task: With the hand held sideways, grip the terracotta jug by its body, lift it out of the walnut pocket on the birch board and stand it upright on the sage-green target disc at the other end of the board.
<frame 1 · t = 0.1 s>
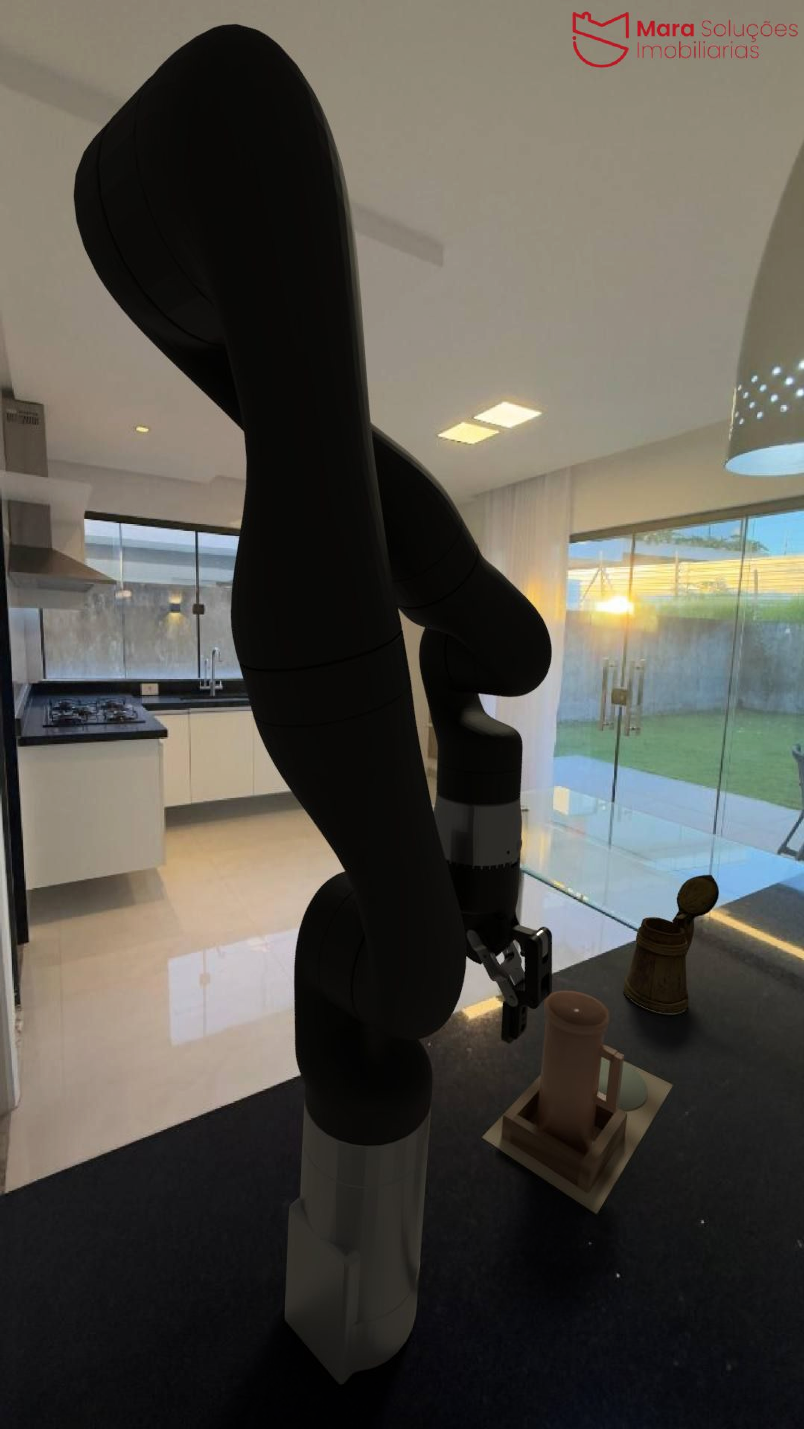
hand: (469, 1015, 55), 17 cm above the countertop, tool pointing down, fingers open, 8 cm apart
board: (583, 1117, 66), on the countertop
jug: (563, 1136, 62), point 1 cm above the countertop, touching board
wooden mug: (666, 995, 91), on the countertop
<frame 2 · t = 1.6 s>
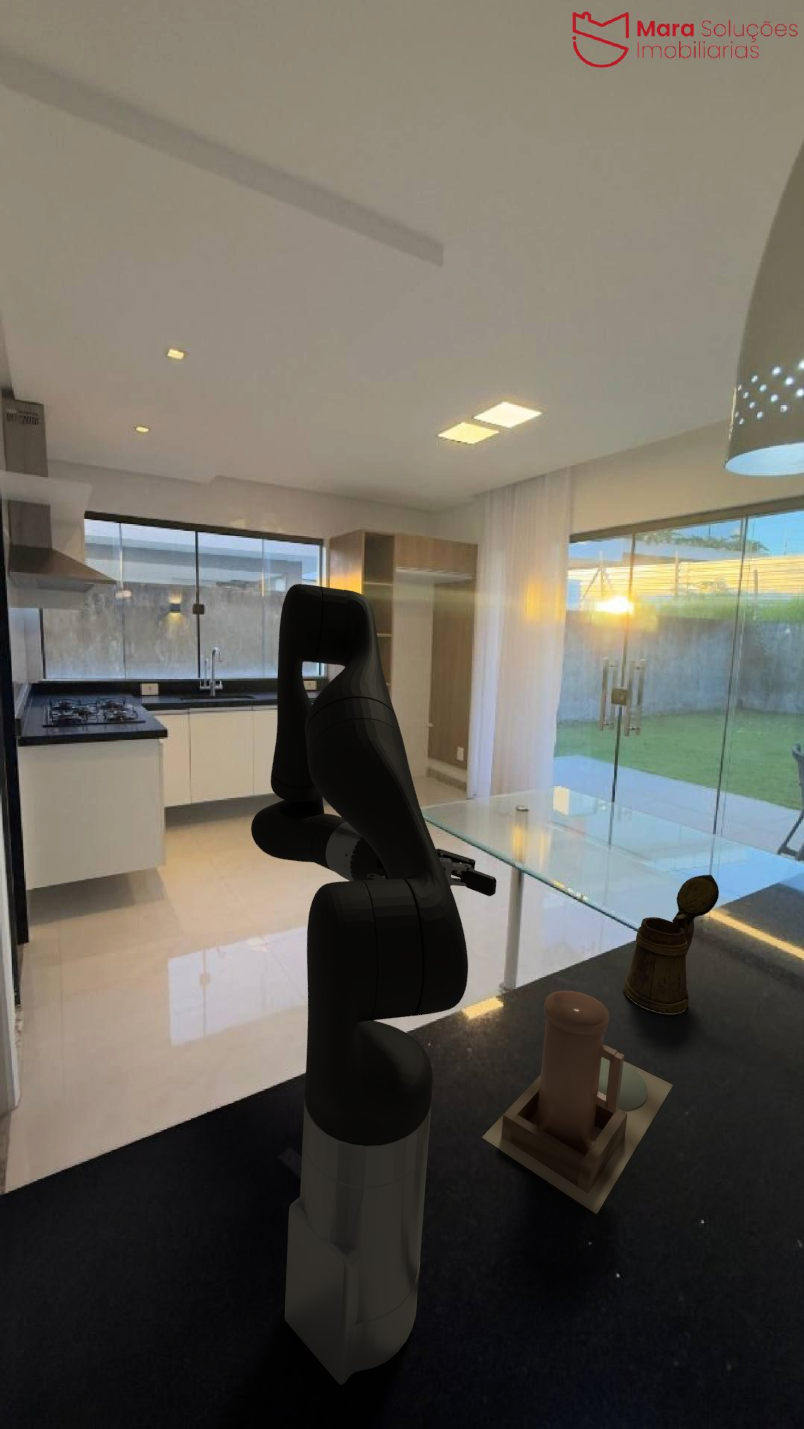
hand: (473, 898, 68), 22 cm above the countertop, tool horizontal, fingers open, 8 cm apart
nothing on the countertop moved.
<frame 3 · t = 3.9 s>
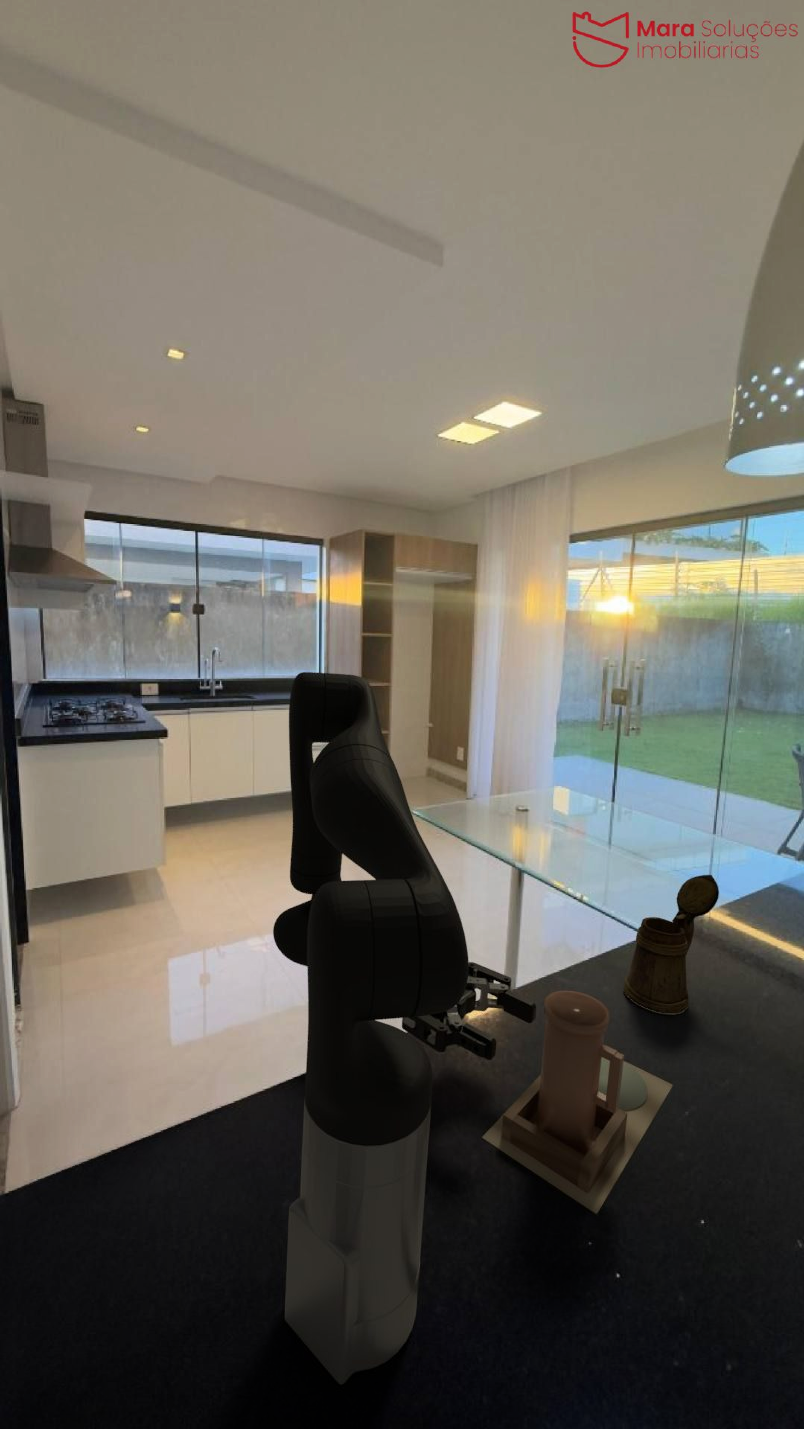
hand: (515, 1031, 65), 9 cm above the countertop, tool horizontal, fingers open, 8 cm apart
nothing on the countertop moved.
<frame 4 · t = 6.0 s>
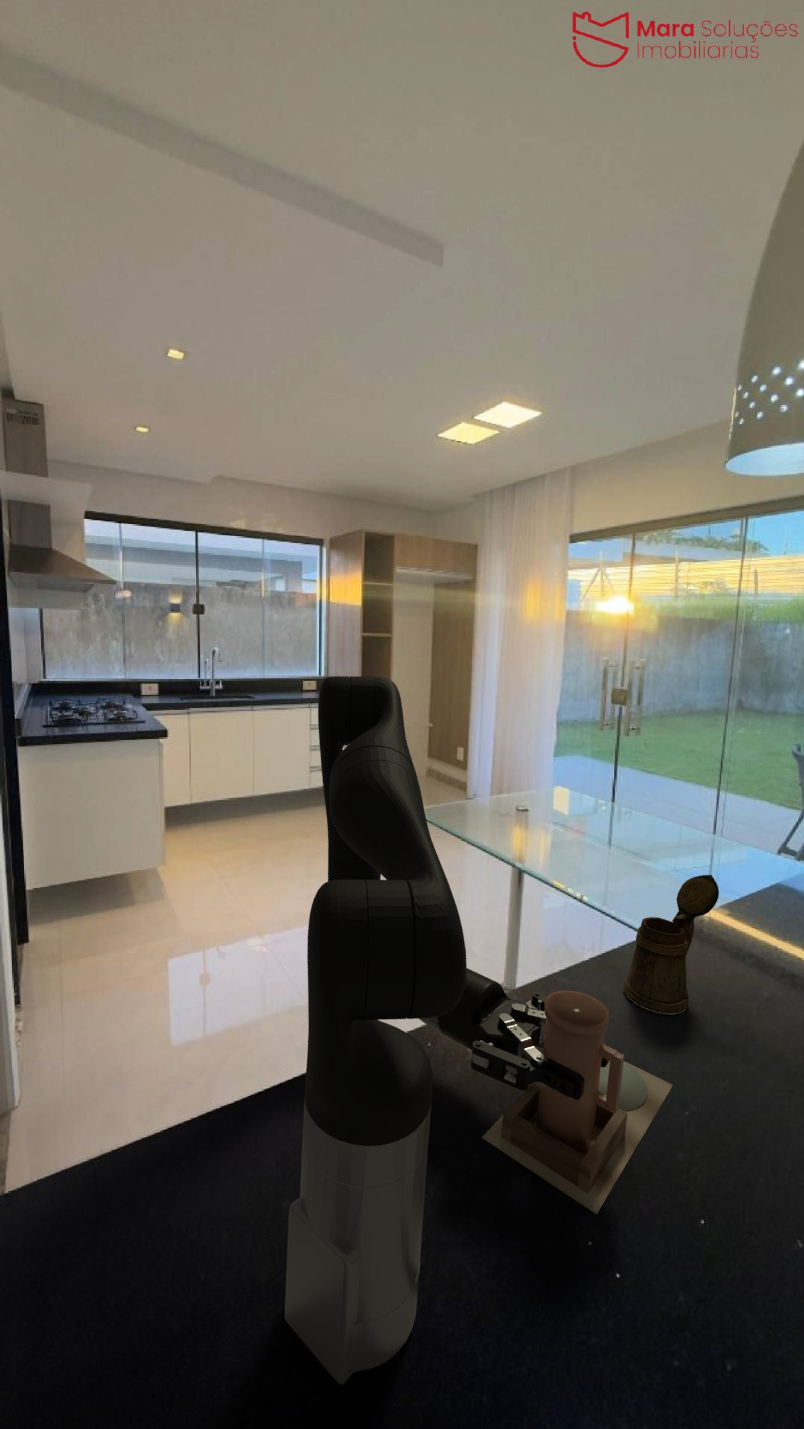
hand: (595, 1072, 60), 9 cm above the countertop, tool horizontal, fingers closed on jug, 5 cm apart
jug: (563, 1136, 62), point 1 cm above the countertop, touching board, gripper
everything else where it was.
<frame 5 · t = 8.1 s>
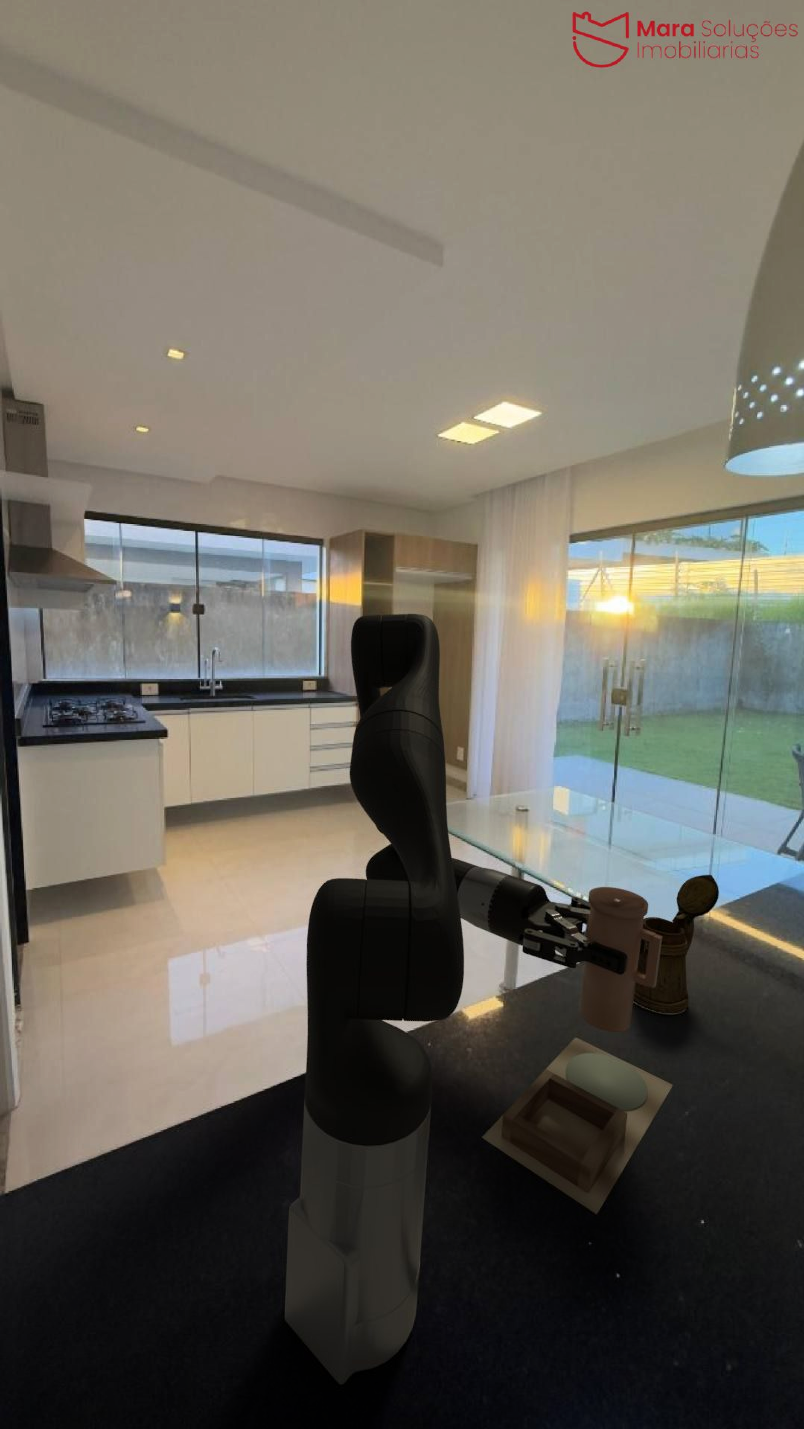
hand: (635, 954, 67), 18 cm above the countertop, tool horizontal, fingers closed on jug, 5 cm apart
jug: (604, 1015, 69), point 9 cm above the countertop, touching gripper
everything else where it was.
when the fingers open (11 cm above the countertop, at t = 10.1 s): jug stays where it is, resting on board.
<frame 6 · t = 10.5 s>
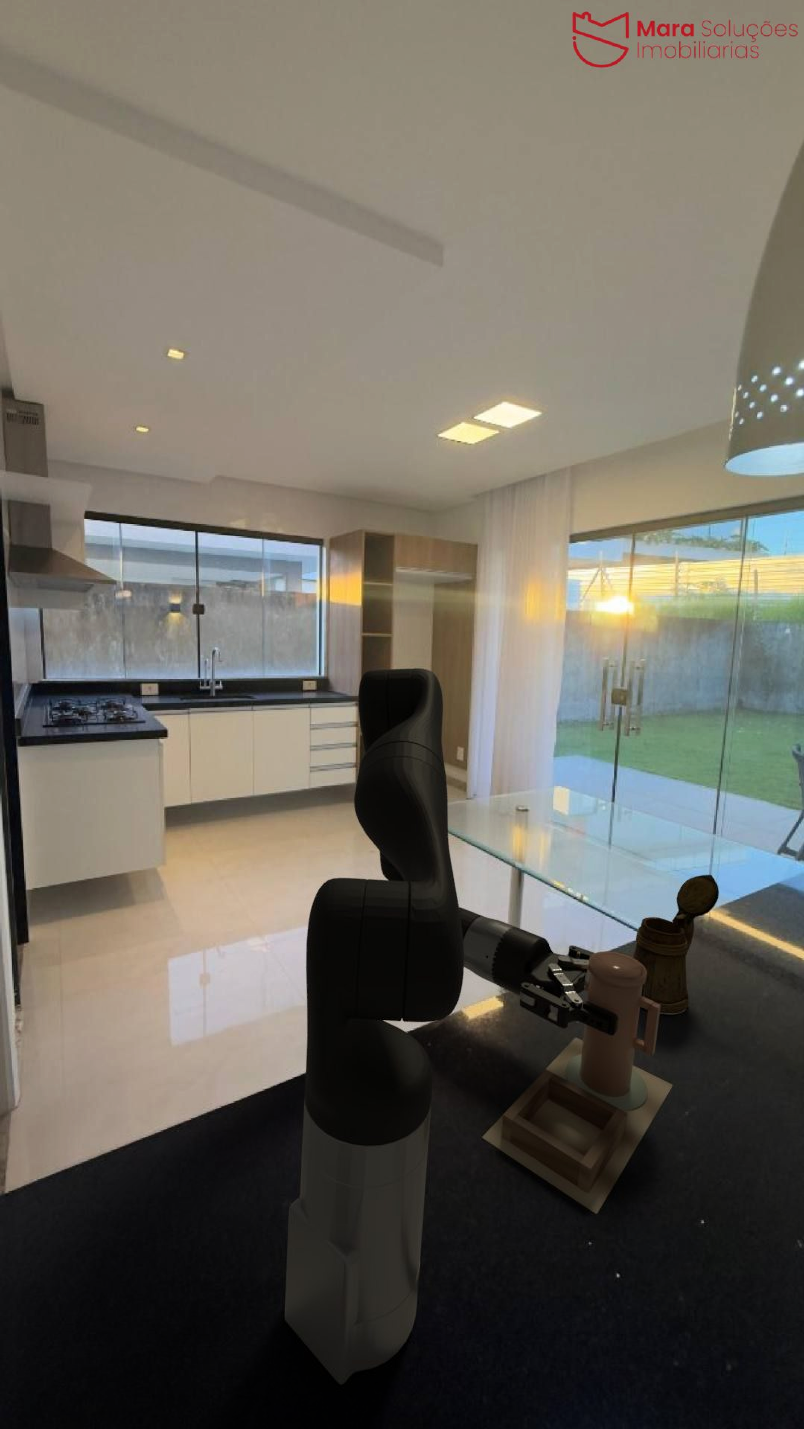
hand: (631, 1009, 68), 11 cm above the countertop, tool horizontal, fingers open, 8 cm apart
jug: (604, 1078, 71), point 1 cm above the countertop, touching board
everything else where it was.
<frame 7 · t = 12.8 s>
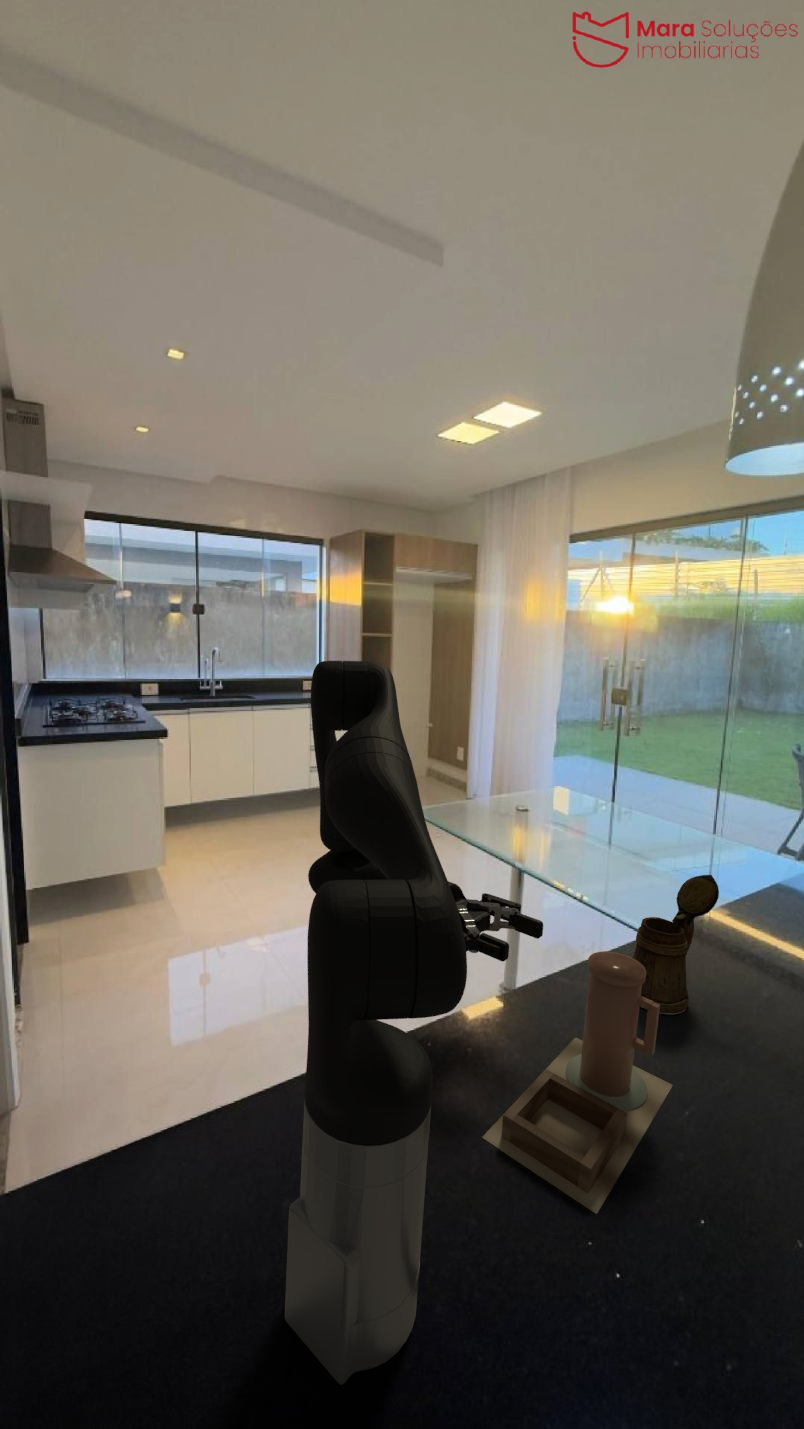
hand: (525, 941, 75), 14 cm above the countertop, tool horizontal, fingers open, 8 cm apart
nothing on the countertop moved.
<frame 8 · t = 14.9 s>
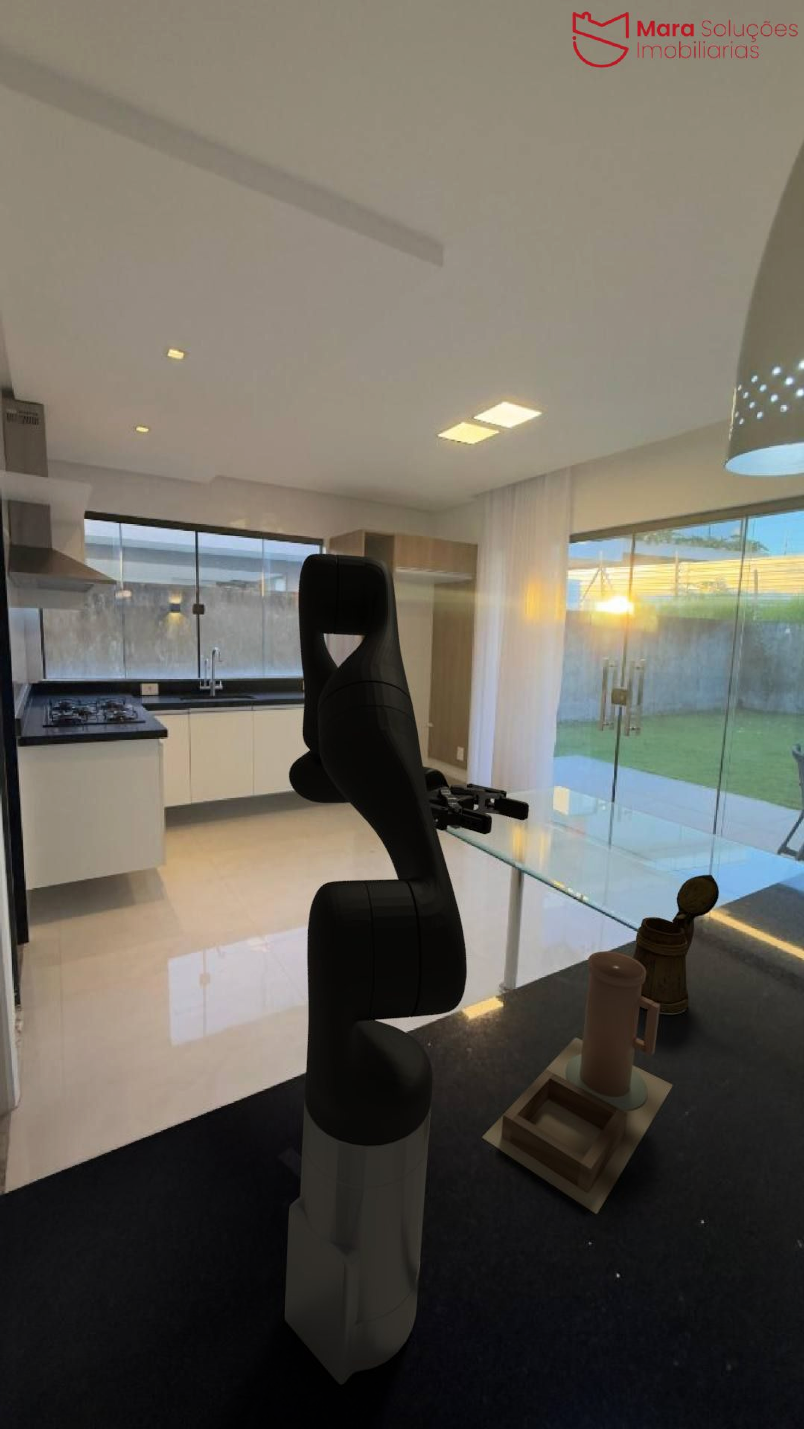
hand: (509, 818, 72), 30 cm above the countertop, tool horizontal, fingers open, 8 cm apart
nothing on the countertop moved.
at the end: jug 0.1 cm from the target spot on the board, point 1.2 cm above the board's base; jug tilted 0°; the gripper is holding nothing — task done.
